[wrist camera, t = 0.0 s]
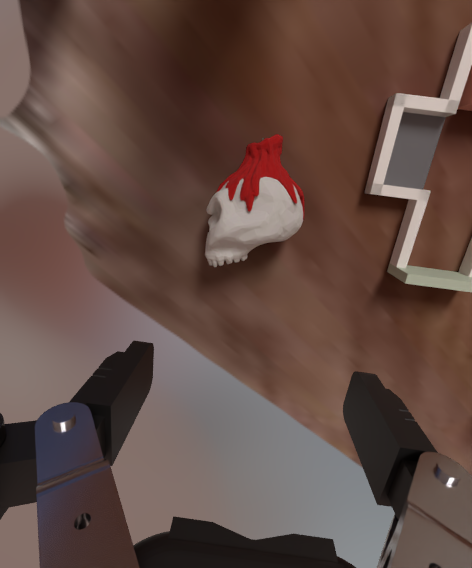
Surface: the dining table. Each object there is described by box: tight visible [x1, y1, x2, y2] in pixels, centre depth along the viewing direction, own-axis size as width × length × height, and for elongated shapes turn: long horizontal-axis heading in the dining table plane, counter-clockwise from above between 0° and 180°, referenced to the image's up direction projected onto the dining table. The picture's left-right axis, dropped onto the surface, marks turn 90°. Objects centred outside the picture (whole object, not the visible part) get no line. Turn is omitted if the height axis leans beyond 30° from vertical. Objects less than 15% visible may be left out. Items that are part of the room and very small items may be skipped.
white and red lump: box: [205, 134, 304, 267], centre depth 34 cm, size 9×11×15 cm
